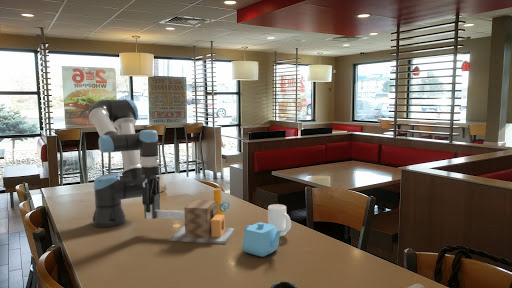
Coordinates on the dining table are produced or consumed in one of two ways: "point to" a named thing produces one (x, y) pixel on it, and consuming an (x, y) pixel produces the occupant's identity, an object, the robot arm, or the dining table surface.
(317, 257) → the dining table surface
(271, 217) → the mug
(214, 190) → the cylinder
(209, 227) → the block
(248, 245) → the teapot
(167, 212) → the grey mallet
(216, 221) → the block
